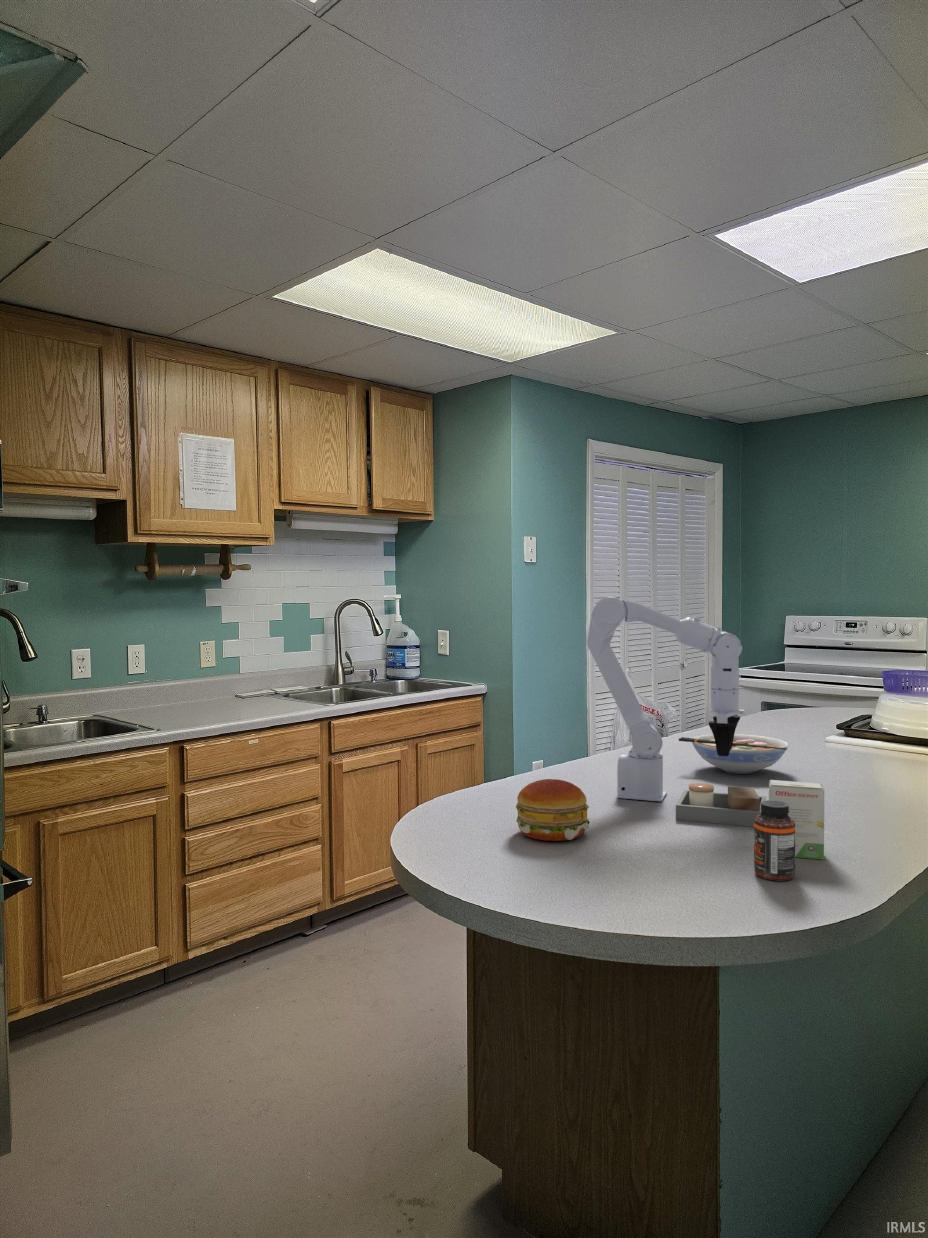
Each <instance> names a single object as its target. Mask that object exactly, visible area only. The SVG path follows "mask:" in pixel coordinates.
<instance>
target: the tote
mask: <svg viewBox="0 0 928 1238" xmlns="http://www.w3.org/2000/svg"><path fill="white" fill-rule="evenodd" d="M758 796H759V798H760V810H759V811H750V810H739V809H728V793H723V792H714V791H713V807H704V806H693V805H689V789H688V790H685V789H683V791H682V794H681V795H680V797H679V799H678V800H677V802H676V804H675V820H676V821H677V820H679V821H689V822H697V823H698V822H700V823H708V824H709V823H710V824H721V825H729V826H730V825H733V826H743V827H752V828H754V821H755V818H756V816H758V815H759V814H761V802H763V801H767V797H766V796H762V795H758Z"/></svg>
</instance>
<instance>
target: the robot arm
mask: <svg viewBox="0 0 928 1238" xmlns="http://www.w3.org/2000/svg"><path fill="white" fill-rule="evenodd" d="M623 621H624V622H626V623H632V622H642V623H644V624H647V625H650V626H653V627H656V628H659V629H661V630H664V631H667V632H669V633H671V634H674V636H675V639H676V641H677V642H678V643H681V645H682V644H683V645H685V646H688V647H690V648H693V649H695V650H697V651H700V652H702V653H710V655H711V666H710V709H709V713H710V714H712V715H714V716H712V719H713V720H709V721H708V726H709V728H710V731H711V733H712V734H713V735H714V739H715V744H716V750H717V754H718V756H729V752H730V750H731V748H732V745H733V739H734V734H736V733H735V732H736V729H737V726H738V725H739V724H738V723H739V721H740V719H741V716H740V715H745V713H746V710H745V709H740V667H739V660H740V659H739V656H740V655H741V653H742V651H743V646H742V643H741V641H740V639H739V638H738V636H736V635H735V634H733V633H731V632H727V631H726V630H722V627H720V626H718V625H716V627H715V626H712V625H710V624H707V623H705V622H702V621H701V618H699V617H696V616H693V618H692V617H690V616H689V617H685V618H683V619H677V618H675V617H672V616H669V615H667V614H665V613H663V612H660V611H659V610H657V609H653V608H651V607H649V606H646V605H645V604H642V603H638V602H633V601H629V600H625V599H619V598H617V597H615V596H614V597H613V596H606V597H603V598H601V599H600V600H599V601H598V602H597V603H596V604H595V606H594V609H592V613H591V614H590V620H589V626H588V633H587V640H586V641H587V642H586V644H587V648H588V650H589V652H590V653H591V656H592V658H593V659H594V661H595V663H596V665H597V668H598V669H599V672H600V674H601V676H602V677H603V680H604V681H605V684H606V686H607V688H608V689H609V691H610V694H611V696H612V698H613V699H614V702H615V704H616V705H617V708H618V710H619V712H620V714H621V716H622V718H623V720H624V722H625V724H626V726H627V729H628V731H629V741H630V742H631V746H632V747H631V749H630V750H629V751H628V754H623V753H621V754H619V756H618V760H617V771H616V774H617V775H616V776H617V777H616V779H617V782H616V783H617V785H616V787H617V794H616V798H617V799H626V800H637V801H639V800H640V801H650V802H663V800H664V799H665V797H666V796H667V793H668V792H667V791H665V790H664V789H663V788H664V787H663V782H664V780H663V779H664V777H663V773H664V772H663V771H664V770H663V769H664V765H663V764H664V762H663V761H664V759H663V758H664V757H663V752H661V749H662V748H663V738H662V735H661V734H660V733H659V730H658V728H657V726H655V725H654V724H653V723H651V722H650V721H649V720H648V717H647V716H646V713H645V712H644V710H643V708H642V706H641V704H640V702H639V700H638V698H637V696H636V694H635V692H634V690H633V687H632V686H631V685H630V682H629V680H628V678H627V676H626V674H625V673H624V670H623V668H622V666H621V664H620V663H619V660H618V659H617V656H616V654H615V652H614V650H613V648H612V646H611V643H612V640H613V637H614V635H615V631H616V630H617V629H618V627H619V626H620V625H621V624H622V622H623Z"/></svg>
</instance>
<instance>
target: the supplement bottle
mask: <svg viewBox="0 0 928 1238" xmlns="http://www.w3.org/2000/svg"><path fill="white" fill-rule="evenodd" d="M788 813H789V805H788V804H787V803H785V802H782V801H775V800H769V799H768V800H766V801H763V802H761V814H759V815H758V816H756V818H755V821H754V827H753V830H754V832H753V833H754V834H753V837H754V838H753V840H754V841H753V845H754V846H753V849H754V850H753V854H754V855H753V864H754V867H753V869H754V873H755V874H756V876H758V877H759V878H762V879H764V880H768V881H775V882H786V881H790V880H792V879H794V878H795V875H796V857H795V821H794V820H793V819H792V818H791V817H790V816H788Z"/></svg>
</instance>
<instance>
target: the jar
mask: <svg viewBox="0 0 928 1238" xmlns="http://www.w3.org/2000/svg"><path fill="white" fill-rule="evenodd" d="M688 790H689V805H693V806H704V807H713V792H714V790H715V786H714V785H713V784H711V783H703V782H694V783H692V782H691V783H689V784H688Z"/></svg>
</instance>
